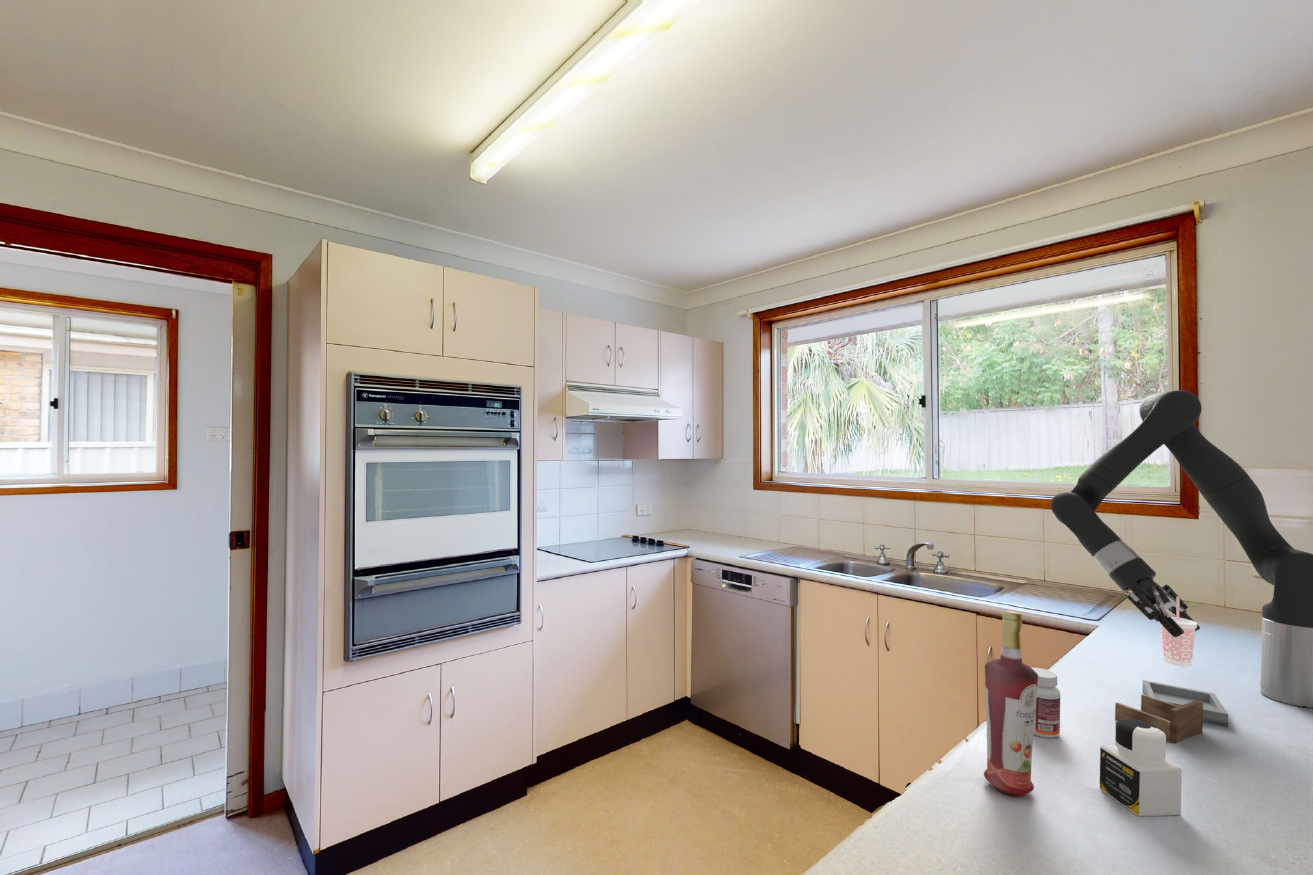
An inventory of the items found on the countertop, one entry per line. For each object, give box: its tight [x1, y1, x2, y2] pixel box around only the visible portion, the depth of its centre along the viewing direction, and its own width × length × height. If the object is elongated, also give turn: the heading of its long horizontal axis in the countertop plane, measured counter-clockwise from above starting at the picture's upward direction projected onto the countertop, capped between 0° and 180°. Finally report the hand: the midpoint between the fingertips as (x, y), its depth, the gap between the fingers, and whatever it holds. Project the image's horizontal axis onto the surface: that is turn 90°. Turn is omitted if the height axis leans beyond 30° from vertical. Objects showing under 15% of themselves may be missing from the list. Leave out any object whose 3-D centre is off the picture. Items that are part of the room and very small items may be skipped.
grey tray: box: [1141, 679, 1229, 728], centre depth 126 cm, size 12×12×2 cm
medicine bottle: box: [1099, 719, 1183, 817], centre depth 92 cm, size 7×7×12 cm
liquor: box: [983, 610, 1038, 798], centre depth 94 cm, size 7×7×28 cm
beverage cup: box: [1160, 596, 1198, 668], centre depth 126 cm, size 6×6×14 cm
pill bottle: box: [1031, 667, 1061, 739], centre depth 114 cm, size 6×6×11 cm
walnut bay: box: [1114, 693, 1204, 744], centre depth 117 cm, size 10×11×6 cm
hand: (1187, 632), depth 124 cm, fingers closed on beverage cup, 6 cm apart
